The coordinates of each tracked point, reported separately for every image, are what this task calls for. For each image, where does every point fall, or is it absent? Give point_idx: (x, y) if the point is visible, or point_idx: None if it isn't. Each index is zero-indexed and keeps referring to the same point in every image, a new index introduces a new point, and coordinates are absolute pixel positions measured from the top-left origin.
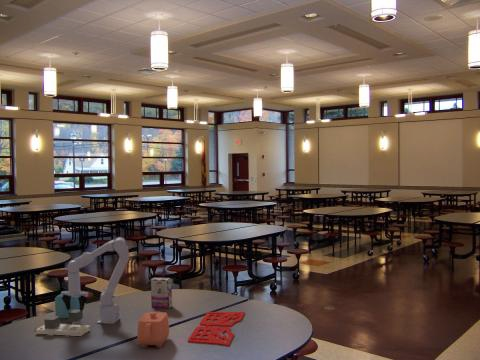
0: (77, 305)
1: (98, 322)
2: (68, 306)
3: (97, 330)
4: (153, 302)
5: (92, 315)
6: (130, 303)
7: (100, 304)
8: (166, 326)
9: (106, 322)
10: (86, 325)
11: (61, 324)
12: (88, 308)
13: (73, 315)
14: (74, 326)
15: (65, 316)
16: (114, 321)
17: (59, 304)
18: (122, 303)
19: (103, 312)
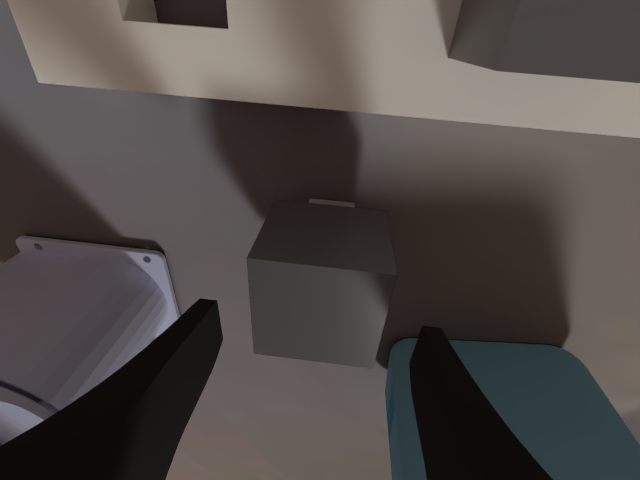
0: (395, 448)
1: (145, 252)
2: (429, 384)
3: (10, 78)
4: None
5: (299, 372)
6: (198, 472)
7: (12, 409)
8: None
9: (75, 248)
10: (82, 80)
11: (436, 97)
12: (384, 449)
13: (314, 242)
14: (209, 27)
15: (487, 352)
16: (14, 257)
17: (604, 472)
18: (237, 475)
19: (28, 314)
